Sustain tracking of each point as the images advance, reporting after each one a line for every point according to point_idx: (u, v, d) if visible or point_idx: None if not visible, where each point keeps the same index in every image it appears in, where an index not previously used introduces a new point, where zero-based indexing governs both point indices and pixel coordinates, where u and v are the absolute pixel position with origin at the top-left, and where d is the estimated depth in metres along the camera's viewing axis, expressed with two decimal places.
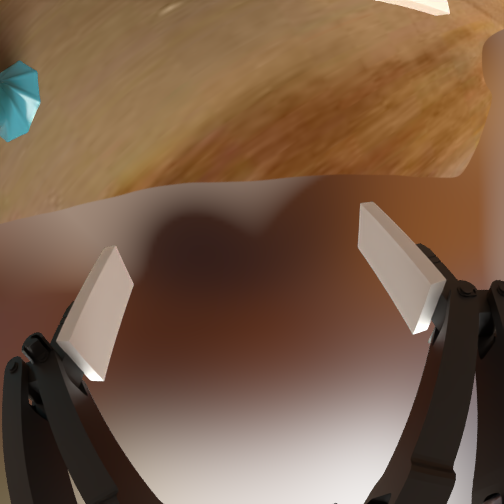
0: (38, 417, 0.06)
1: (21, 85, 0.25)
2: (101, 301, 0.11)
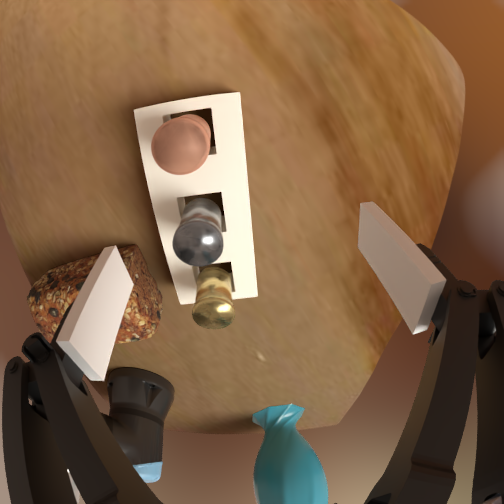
0: (38, 417, 0.06)
1: (275, 416, 0.62)
2: (101, 301, 0.11)
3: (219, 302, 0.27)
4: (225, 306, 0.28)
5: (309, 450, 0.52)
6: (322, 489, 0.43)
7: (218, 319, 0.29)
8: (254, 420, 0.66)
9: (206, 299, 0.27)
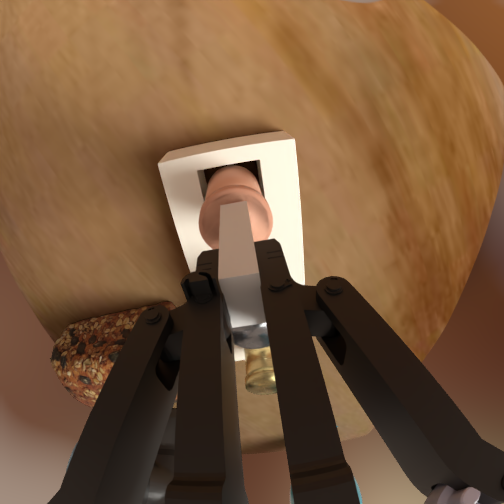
0: (159, 385, 0.08)
1: None
2: None
3: None
4: None
5: None
6: None
7: (273, 387, 0.25)
8: None
9: (261, 373, 0.24)
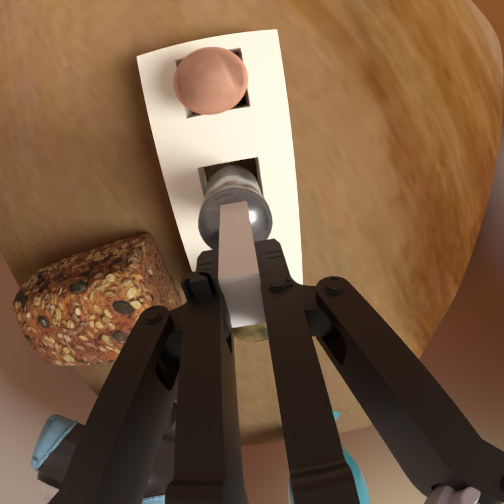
0: (159, 385, 0.08)
1: None
2: None
3: None
4: None
5: (349, 458, 0.45)
6: (364, 499, 0.35)
7: (262, 328, 0.21)
8: None
9: None
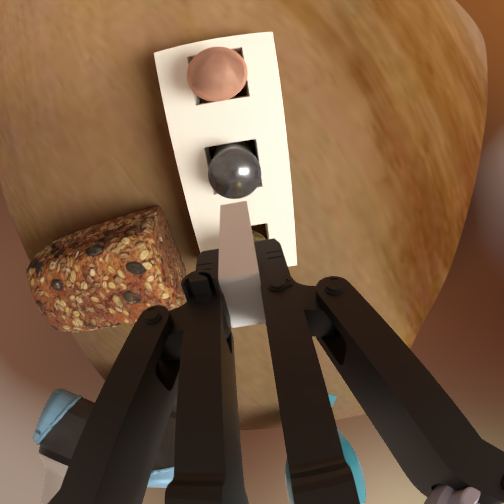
0: (159, 385, 0.08)
1: None
2: None
3: None
4: None
5: (344, 441, 0.48)
6: (359, 482, 0.39)
7: None
8: None
9: None
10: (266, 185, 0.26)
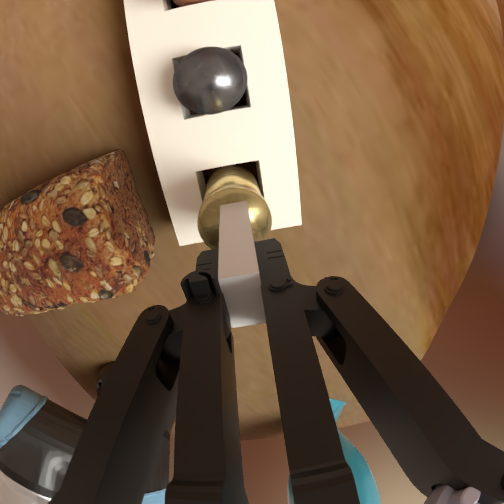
0: (159, 384, 0.08)
1: None
2: None
3: (245, 194, 0.15)
4: (256, 202, 0.16)
5: (356, 454, 0.39)
6: (374, 500, 0.30)
7: None
8: None
9: (221, 190, 0.15)
10: (256, 105, 0.17)
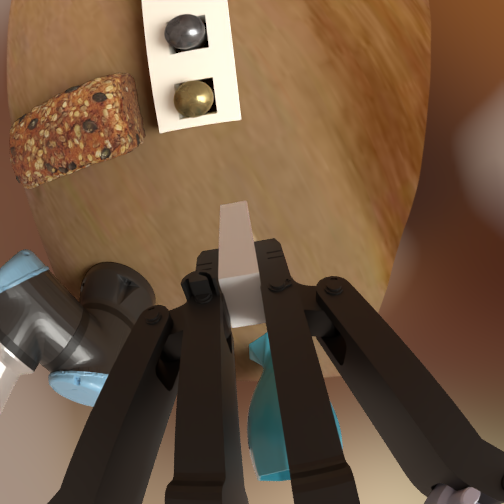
0: (159, 384, 0.08)
1: None
2: None
3: (199, 83, 0.26)
4: (204, 87, 0.26)
5: None
6: None
7: (197, 103, 0.27)
8: (251, 355, 0.62)
9: None
10: (212, 46, 0.25)
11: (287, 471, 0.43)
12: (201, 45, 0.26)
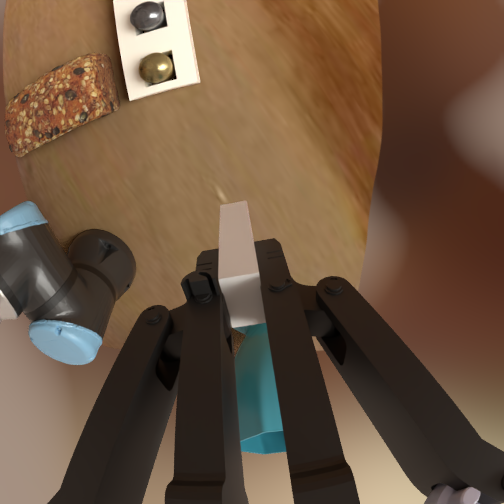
0: (159, 384, 0.08)
1: None
2: None
3: (159, 54, 0.27)
4: (163, 57, 0.28)
5: None
6: None
7: (158, 70, 0.29)
8: None
9: (149, 54, 0.27)
10: (170, 25, 0.27)
11: (273, 444, 0.44)
12: (163, 26, 0.28)
